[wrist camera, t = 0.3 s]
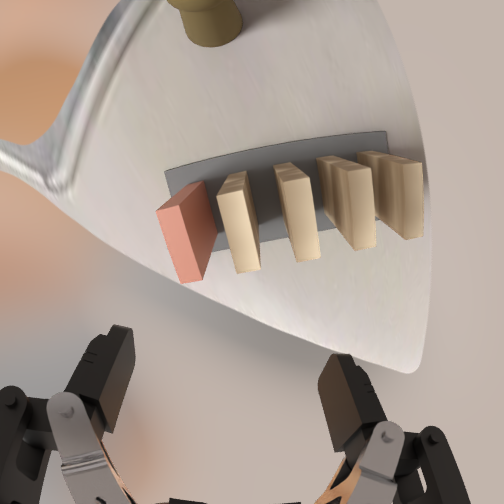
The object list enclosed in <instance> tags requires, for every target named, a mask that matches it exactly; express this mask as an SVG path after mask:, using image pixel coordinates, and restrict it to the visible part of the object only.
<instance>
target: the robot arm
mask: <svg viewBox="0 0 504 504" xmlns="http://www.w3.org/2000/svg"><path fill="white" fill-rule="evenodd" d="M134 366H135V348H134V338H133V330H132V329H131V328H128V327H123V326H119V325H113V326H112V327H111V329H110V331H109V333H108V335H107V336H106V335H102V334H100V335H98V336H97V337H96V338H94V339H93V340H92V341H91V342H90V343H89V345H88V347H87V349H86V351H85V353H84V354H83V356H82V358H81V361H80V362H79V364H78V365H77V367H76V369H75V371H74V373H73V375H72V377H71V379H70V381H69V383H68V385H67V387H66V389H65V390H64V391H63V392H60V393H57V394H55V395H53V396H52V397H51V398H50V399H40V398H31V397H27V396H26V395H25V393H24V392H23V391H22V390H21V389H20V388H19V387H16V386H7V387H4V388H3V389H1V390H0V504H39V500H40V495H41V490H42V486H43V481H44V477H45V473H46V469H47V465H48V461H49V458H50V454H51V451H52V450H56V451H59V454H60V457H61V459H62V465H61V470H62V473H63V476H64V479H65V481H66V483H67V486H68V488H69V490H70V493H71V495H72V496H73V499H74V501H75V503H76V504H137V503H136V501H135V499H134V498H133V497H132V495H131V493H130V492H129V490H128V488H127V487H126V485H125V484H124V482H123V481H122V479H121V477H120V475H119V474H118V472H117V470H116V468H115V466H114V464H113V462H112V461H111V459H110V457H109V455H108V453H107V450H106V449H105V446H104V444H103V442H102V437H103V434H104V431H106V432H109V433H113V431H114V428H115V425H116V421H117V418H118V415H119V411H120V408H121V405H122V402H123V399H124V396H125V393H126V390H127V387H128V384H129V381H130V378H131V375H132V373H133V369H134ZM318 391H319V395H320V399H321V403H322V406H323V410H324V414H325V417H326V421H327V425H328V429H329V433H330V436H331V440H332V444H333V448H334V451H335V452H342V451H345V454H346V456H345V457H344V458H343V460H342V462H341V464H340V465H339V467H338V469H337V471H336V473H335V475H334V477H333V478H332V480H331V482H330V483H329V485H328V487H327V489H326V490H325V492H324V493H323V494H322V495H321V496H320V497H319V498H318V499H317V501H316V502H315V503H314V504H391V503H392V502H393V504H471V503H470V500H469V497H468V494H467V491H466V488H465V485H464V482H463V480H462V477H461V474H460V471H459V469H458V466H457V464H456V461H455V459H454V456H453V454H452V451H451V449H450V447H449V444H448V442H447V439H446V437H445V435H444V433H443V432H442V431H441V430H440V429H439V428H437V427H435V426H428V427H426V428H424V429H423V430H422V431H421V432H420V433H411V432H403V430H402V429H401V427H400V426H398V425H397V424H396V423H394V422H391V421H388V420H387V418H386V415H385V413H384V411H383V408H382V406H381V404H380V402H379V399H378V397H377V395H376V393H375V390H374V388H373V386H372V385H371V382H370V379H369V377H368V375H367V373H366V372H365V371H364V370H363V369H362V368H361V367H360V366H356V365H355V363H354V360H353V358H352V356H351V355H350V354H332V355H331V356H330V357H329V360H328V361H327V363H326V366H325V367H324V369H323V371H322V373H321V375H320V377H319V380H318ZM420 467H421V469H422V472H423V475H424V478H425V481H426V485H427V490H426V492H425V493H424V490H423V487H422V483H421V480H420V477H419V474H418V471H417V469H419V468H420ZM157 504H206V503H203V502H194V501H187V500H180V499H173V498H170V500H169V502H168V503H157ZM284 504H301V502H296V503H284Z"/></svg>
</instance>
